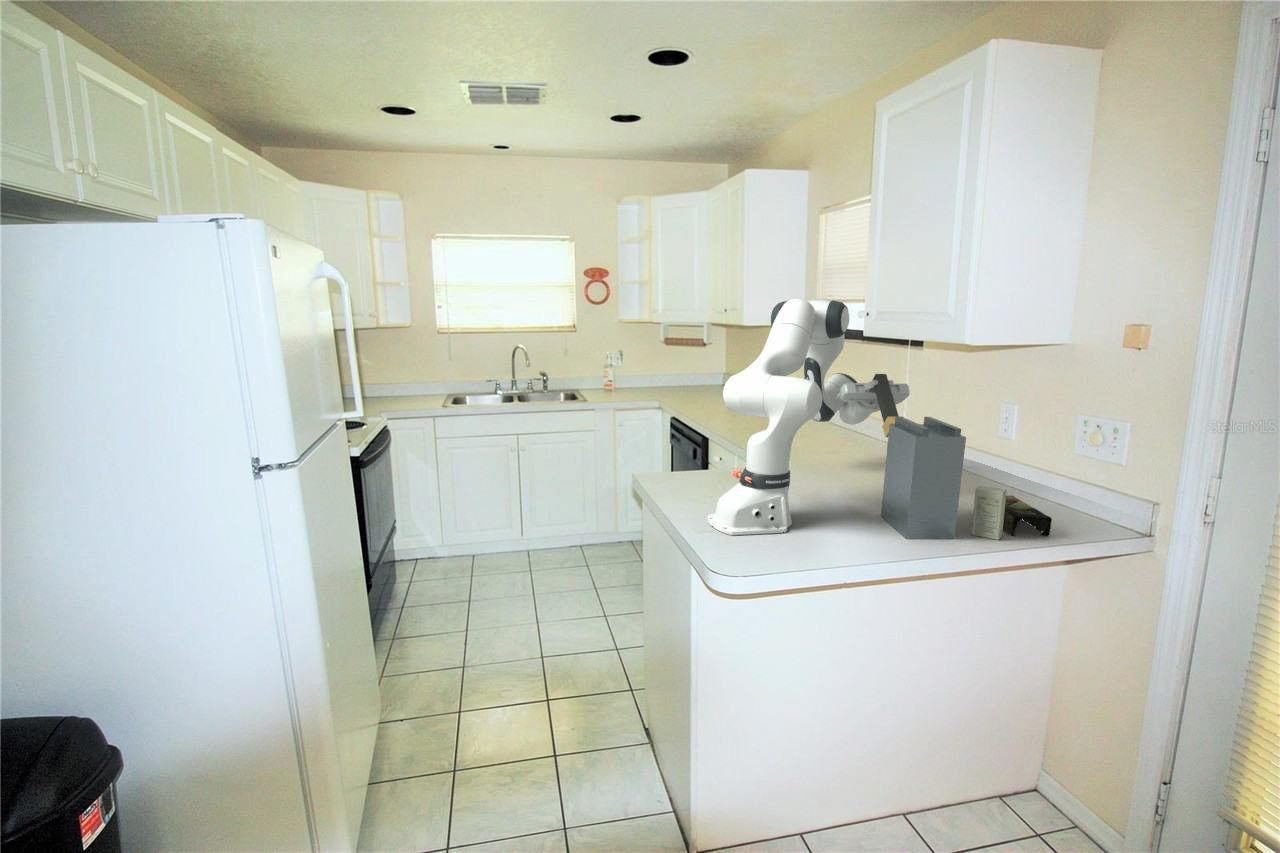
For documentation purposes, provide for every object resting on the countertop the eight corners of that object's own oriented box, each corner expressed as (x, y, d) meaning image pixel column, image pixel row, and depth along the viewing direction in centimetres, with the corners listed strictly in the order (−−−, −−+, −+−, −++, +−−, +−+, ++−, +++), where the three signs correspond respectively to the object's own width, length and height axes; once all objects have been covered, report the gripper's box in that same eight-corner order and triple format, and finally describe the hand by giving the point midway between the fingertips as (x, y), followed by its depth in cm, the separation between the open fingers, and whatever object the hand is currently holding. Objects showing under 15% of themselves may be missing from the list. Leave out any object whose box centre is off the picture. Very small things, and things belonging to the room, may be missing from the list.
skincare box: (1002, 536, 154) (1008, 489, 152) (998, 540, 151) (1004, 493, 148) (974, 529, 158) (979, 484, 156) (969, 534, 155) (975, 488, 153)
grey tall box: (880, 516, 167) (890, 416, 162) (924, 517, 167) (935, 416, 162) (905, 538, 152) (917, 428, 146) (954, 539, 152) (967, 428, 146)
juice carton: (973, 511, 174) (976, 490, 172) (1009, 512, 173) (1013, 492, 172) (1010, 538, 154) (1013, 515, 153) (1050, 540, 153) (1054, 517, 152)
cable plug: (869, 380, 186) (874, 370, 182) (884, 380, 186) (890, 370, 182) (885, 437, 174) (890, 428, 170) (901, 437, 174) (907, 428, 170)
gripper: (833, 389, 196) (847, 372, 183) (896, 390, 196) (915, 372, 183) (835, 408, 194) (849, 391, 181) (899, 408, 194) (918, 392, 181)
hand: (883, 382), depth 182 cm, fingers closed on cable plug, 3 cm apart
